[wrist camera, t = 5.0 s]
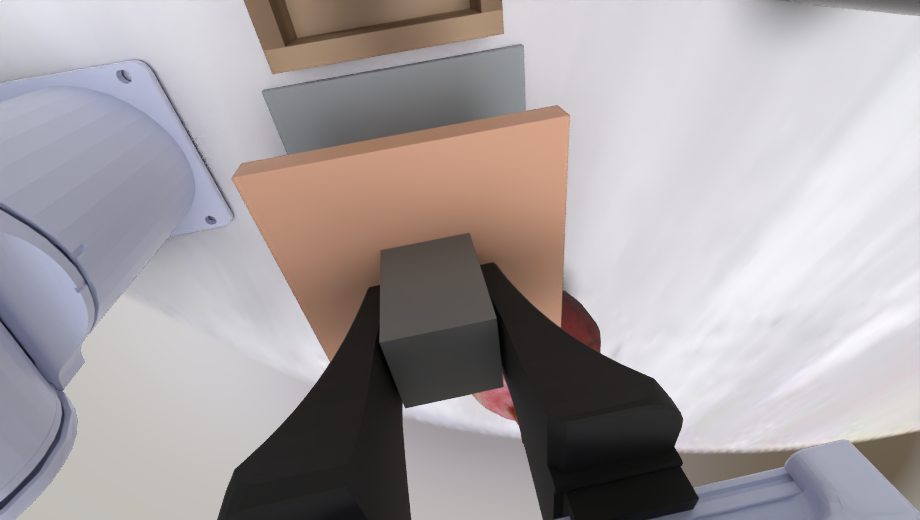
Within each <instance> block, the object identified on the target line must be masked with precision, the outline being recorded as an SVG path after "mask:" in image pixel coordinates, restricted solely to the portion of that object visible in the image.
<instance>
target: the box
mask: <svg viewBox="0 0 920 520" xmlns="http://www.w3.org/2000/svg"><path fill="white" fill-rule="evenodd" d="M244 2H245V5H246V7H247V10H248V12H249V15H250V18H251V20H252V23H253V25H254V28H255V30H256V33H257V36H258V38H259V41H260V43H261V46H262V48H263V51H264V53H265V56H266V59H267V61H268V64H269V66H270V69H271V71H272V74H277V73H283V72H288V71H294V70H300V69H305V68H311V67H317V66H323V65H328V64H334V63H340V62H345V61H351V60H357V59H362V58H368V57H374V56H380V55H385V54H391V53H397V52H402V51H408V50H414V49H419V48H425V47H431V46H436V45H442V44H448V43H454V42H459V41H465V40H471V39H476V38H482V37H488V36H493V35H499V34H504V27H503V9H502V0H244Z"/></svg>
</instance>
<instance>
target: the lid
mask: <svg viewBox="0 0 920 520" xmlns="http://www.w3.org/2000/svg"><path fill="white" fill-rule="evenodd" d="M569 123H570V115H569V114H568V113H566V112H565V111H564V110H563V109H562V108H560V107H559V106H558V105H556V106H551V107H545V108H540V109H534V110H529V111H524V112H518V113H513V114H507V115H502V116H496V117H491V118H486V119H480V120H475V121H469V122H464V123H458V124H453V125H448V126H442V127H437V128H431V129H426V130H421V131H415V132H410V133H404V134H399V135H393V136H388V137H383V138H377V139H372V140H366V141H361V142H355V143H350V144H345V145H339V146H334V147H328V148H323V149H317V150H312V151H307V152H301V153H296V154H290V155H285V156H279V157H274V158H269V159H263V160H258V161H252V162H247V163H242V164H241V165H240V167H239V168H238V170H237V171H236V172H235V174H234V175H233V177H232V180H233V182H234V184H235V186H236V188H237V189H238V191H239V193H240V195H241V197H242V199H243V201H244V202H245V204H246V206H247V208H248V210H249V212H250V214H251V216H252V217H253V219H254V221H255V223H256V225H257V227H258V229H259V230H260V232H261V234H262V236H263V238H264V240H265V242H266V243H267V245H268V247H269V249H270V251H271V253H272V255H273V257H274V258H275V260H276V262H277V264H278V266H279V268H280V270H281V271H282V273H283V275H284V277H285V279H286V281H287V283H288V284H289V286H290V288H291V290H292V292H293V294H294V296H295V298H296V299H297V301H298V303H299V305H300V307H301V309H302V311H303V312H304V314H305V316H306V318H307V320H308V322H309V324H310V325H311V327H312V329H313V331H314V333H315V335H316V337H317V339H318V340H319V342H320V344H321V346H322V348H323V350H324V352H325V353H326V355H327V357H328V359H329V361H330V362H331V361H332V359H333V357H334V356H335V354H336V352H337V351H338V349H339V347H340V345H341V344H342V342H343V340H344V338H345V337H346V335H347V333H348V331H349V329H350V327H351V325H352V323H353V321H354V319H355V317H356V315H357V313H358V310H359V308H360V306H361V304H362V301H363V299H364V296H365V294H366V291H367V290H368V288H369V287H372V286H377V285H380V335H379V343H380V345H381V348H382V351H383V353H384V356H385V358H386V361H387V363H388V366H389V368H390V371H391V373H392V376H393V379H394V381H395V384H396V386H397V389H398V391H399V394H400V396H401V399H402V401H403V404H404V407H405V408H409V407H414V406H418V405H423V404H428V403H432V402H437V401H442V400H446V399H451V398H456V397H461V396H465V395H470V394H475V393H479V392H484V391H489V390H493V389H498V388H503V387H504V384H503V374H502V364H501V355H500V345H499V336H498V326H497V318H496V315H495V311H494V308H493V305H492V302H491V299H490V296H489V292H488V289H487V286H486V283H485V280H484V277H483V273H482V270H481V267H480V265H482V264H487V263H492V262H494V263H495V264H497V266H498V267H499V268H500V270H501V271H502V272H503V274H504V275H505V276H506V277H507V278H508V279H509V281H510V282H511V283H512V284H513V285H514V286H515V287H516V288H517V289H518V290H519V291H520V292H521V293H522V294H523V295H524V296H525V297H526V298H527V299H528V300H529V301H530V302H531V303H532V304H533V305H534V306H535V307H536V308H537V309H538V310H539V311H541V312H542V313H543V314H544V315H545V316H546V317H548V318H549V319H550V320H551V321H553V322H554V323H555V324H556V325H558V326H559V327H560V328H561V311H562V288H563V264H564V241H565V217H566V193H567V170H568V146H569Z"/></svg>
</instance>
